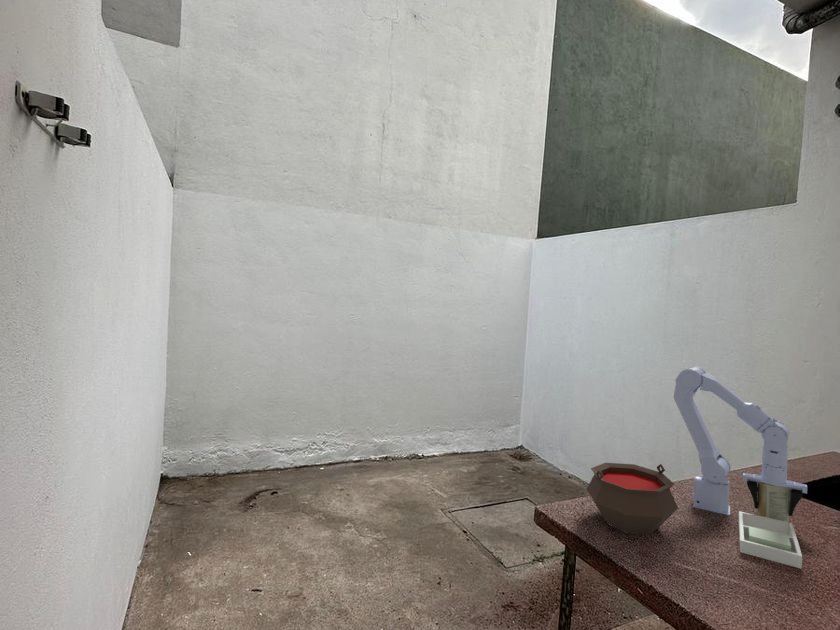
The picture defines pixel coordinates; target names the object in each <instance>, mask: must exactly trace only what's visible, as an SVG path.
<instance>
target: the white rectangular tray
mask: <svg viewBox="0 0 840 630" xmlns="http://www.w3.org/2000/svg"><path fill="white" fill-rule="evenodd" d="M749 526H751V527H755V528H759V529H763V530H767V531H771V532H775V533H780V534H784V535H788V536H789V540H790V544H791V549H790V552H789V551H785V550H781V549H777V548H774V547H770V546H766V545H762V544H758V543H754V542H750V541H749ZM738 538H739V541H738V542H739V552H740V553H742V554H745V555H749V556H752V557H757V558H760V559H764V560H768V561H772V562H775V563H778V564H782V565H787V566H790V567H794V568H798V569H799V570H802V569H803V555H802V551H801V548H800V544H799V541H798V538H797V534H796V531H795V528H794V524H793V523H792V522H790V521H789V522H784V521H780V520H776V519H771V518H767V517H763V516H758V515H757V514H753V513H748V512H745V511H740V510H739V511H738Z"/></svg>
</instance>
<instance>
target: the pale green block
mask: <svg viewBox="0 0 840 630" xmlns="http://www.w3.org/2000/svg"><path fill="white" fill-rule="evenodd" d="M749 541H750V542H754V543H758V544H762V545H766V546H770V547H774V548H777V549H781V550H785V551H789V552H790V549H791V544H790V540H789V536H788V535H784V534H780V533H775V532H771V531H767V530H763V529H759V528H755V527H751V526H749Z"/></svg>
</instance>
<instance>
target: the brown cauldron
mask: <svg viewBox="0 0 840 630" xmlns="http://www.w3.org/2000/svg"><path fill="white" fill-rule="evenodd" d="M656 469H657V470H654V469H650V468H647V467H644V466H641V465H637V464H634V463H616V462H603V463H601V464H598V465H596V466H593V467H591V468H590V470H591V472H592V473H593V476H592V478H591V480H590V481H589V484H588V485H587V487H586V491H587V492H588V494H589V496H590V498H591V499H592V501H593V502H594V504H595V506H596V508H597V509H598V511H599V513H600V514H601V515H602V517H603V518H604V521H605V522H606V523H607V525H608V524H610V525H612V526H614V527H616V528H618V529H620V530H619V531H621V530H623V531H625V532H627V533H626V534H631V533H637V534H636V535H644V534H646V535H647V536H648V535H650V534H652V533H653V532H655V531H657V530H658V529H659V528H660V527H661V526H662V525H663V524H664V523H665V522H666V521H667V520H668V519H669V518H670V517H671V516H672V515H673V514H674V513H675V512H676V511H677V510H678V509H679V507H678V504H677V502H676V501H675V498H674V496H673V493H672V491H671V488H672V487H673V486H674V485H675V483H674V482H673V481H672V480H670V478H668V477H667V476H666V475H665V474H664V472H666V469H665V468H664V466H663V464H662V463H660V464H659V465H657V466H656ZM614 527H613V528H614ZM616 528H615V529H616ZM618 529H617V530H618ZM623 531H622V532H623ZM625 532H624V533H625ZM646 535H645V536H646Z"/></svg>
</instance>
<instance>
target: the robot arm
mask: <svg viewBox="0 0 840 630" xmlns="http://www.w3.org/2000/svg"><path fill="white" fill-rule="evenodd" d="M698 390H699V391H702V392H703V391H704V392H710V393H712V394H714V395H715V396H717V397H718V398H720V399H721V400H722V401H723V402H725V403H726V404H728V405H729V406H731V407H732V408H733V409H734V410H735V411H736V415H737V417H738V418H739V419H741V421H743V422H744V423H745V424H747V426H749V427H751V428H752V429H753V430H754V431H756V432H757V433H760V434H761V438H762V440H763V446H762V451H761V452H762V455H761V457H762V459H761V474H755V473H754V474H753V473H747V472H743V473H742V482H745V483H746V484H747V485H746V486H747V488H748V490H749V492H750V494H751V497H752V500H753V508H754V509H756V510H757V509H758V503H757V499H758V483H759V482H762V483H766V484H770V485H774V486H781V487H789V517H793V514H794V511H795V509H796V507H797V505H798V503H799V502H800V501H801V499H803V497H804V496H803V494H808V485H807V484H804V483H801V482H796V481H792V480H789V479H788V459H789V457H788V456H789V452H788V447H789V445H788V440H789V435H790V432H789V428H788V427H787V426H786V425H785V424H784V422H782V421H778V419H777V418H776V417H772V416H771V415H769V414H768V413H767V412H765V410H763V409H762V406H761V405H760V404H759V403H758V404H755V403H754V402H746V401H744V400H743V399H741V397H739V396H738V395H736V394H735V392H733V391H732V390H731V389H730V388H728V387H727V386H726V385H725V384H723V382H721V381H720V380H718V378H716V377H715V376H714V375H712V374H711V373H709V372H707V371H706V370H704V369H703V368H701V366H691V367H689V368H686V369H683V370H682V371H680V372H679V374H678V375H677V376H676V378H675V388H674V393H673V399H674V402H675V404H676V406H677V409H678V410H679V413H680V415H681V417H682V419H683V422H684V423H685V426H686V428H687V429H688V432H689V434H690V436H691V439H692V440H693V442H694V445H695V447H696V449H697V452H698V461H699V463H700V464H701V465H700V466H701V469H700V470H701V471H700V472H701V474H702V475H701V476H697V475H695V476H694V477H693V479H694V481H693V493H692V500H693V502H692V503H693V505H692V507H693V508H697V509H701V510H703V511H709V512H713V513H717V514H720V515H721V514H722V515H726V516H731V505H729V503H730V480H729V478H728V476H727V475H728V474H729V473H730V472H731V464H730V462H729V460H727V458H725V457H724V456H723V454H722V453H721V451H720V449H719V448H717V446H716V444H715V442H714V440H713V439H712V437H711V435H710V432H709V429H708V428H707V425H706V424H705V421H704V420H703V417H702V415H701V413H700V411H699V409H698V407H697V404H696V402H695V401H694V397H695V395H696V393H697V391H698Z"/></svg>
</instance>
